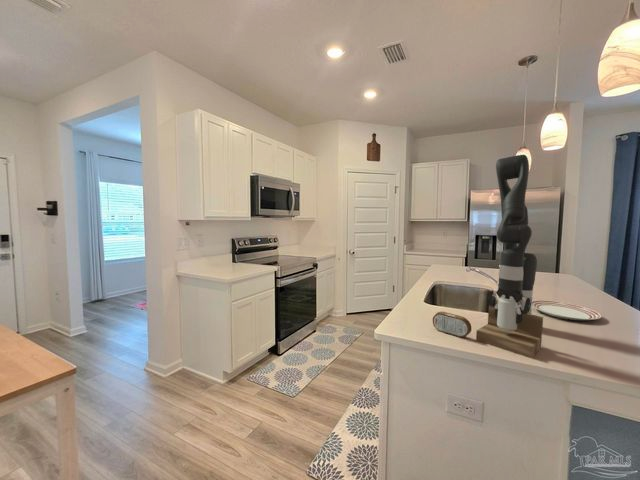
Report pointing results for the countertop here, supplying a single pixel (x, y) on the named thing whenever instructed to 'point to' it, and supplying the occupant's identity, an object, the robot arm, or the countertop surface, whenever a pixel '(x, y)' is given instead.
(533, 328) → the walnut shelf
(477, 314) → the countertop surface
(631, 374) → the countertop surface
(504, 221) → the robot arm
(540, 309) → the dinner plate
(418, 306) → the countertop surface
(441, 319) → the tin
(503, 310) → the beverage can
